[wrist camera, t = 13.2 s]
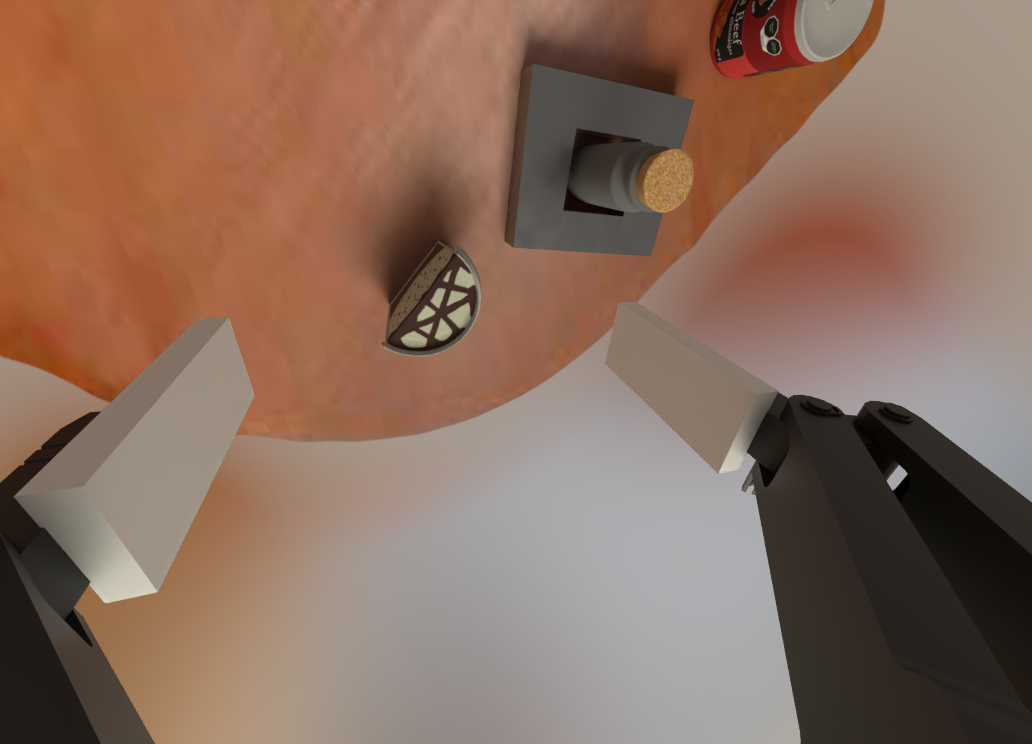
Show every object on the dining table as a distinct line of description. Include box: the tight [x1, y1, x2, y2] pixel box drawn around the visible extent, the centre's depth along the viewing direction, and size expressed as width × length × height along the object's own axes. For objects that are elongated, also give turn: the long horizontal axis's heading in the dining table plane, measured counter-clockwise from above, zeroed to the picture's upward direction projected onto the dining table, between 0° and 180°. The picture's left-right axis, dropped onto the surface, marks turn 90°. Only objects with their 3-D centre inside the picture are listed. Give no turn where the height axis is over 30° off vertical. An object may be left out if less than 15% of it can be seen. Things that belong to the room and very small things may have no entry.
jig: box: [505, 64, 694, 256], centre depth 42 cm, size 16×18×4 cm
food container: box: [382, 241, 481, 357], centre depth 40 cm, size 12×6×10 cm, turn 137°
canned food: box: [710, 0, 874, 79], centre depth 36 cm, size 8×8×11 cm
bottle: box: [567, 142, 694, 213], centre depth 37 cm, size 6×6×15 cm
